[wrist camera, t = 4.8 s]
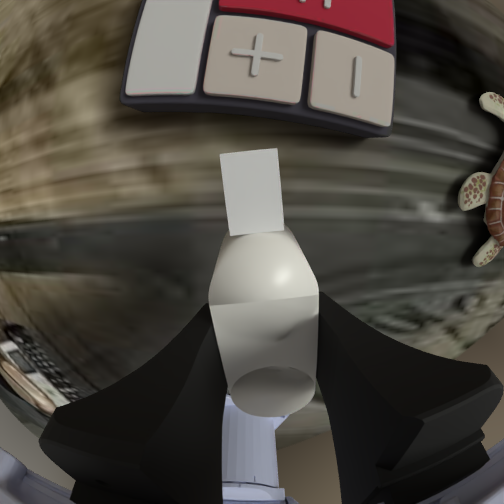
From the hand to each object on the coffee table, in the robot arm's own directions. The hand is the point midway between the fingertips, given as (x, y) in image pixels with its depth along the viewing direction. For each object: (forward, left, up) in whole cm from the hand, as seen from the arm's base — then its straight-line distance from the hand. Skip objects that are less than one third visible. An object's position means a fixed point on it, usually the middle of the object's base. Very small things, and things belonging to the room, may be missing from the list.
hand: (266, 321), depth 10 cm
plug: (+1, +1, -2) cm, 2 cm away
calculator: (+13, +5, -9) cm, 16 cm away
